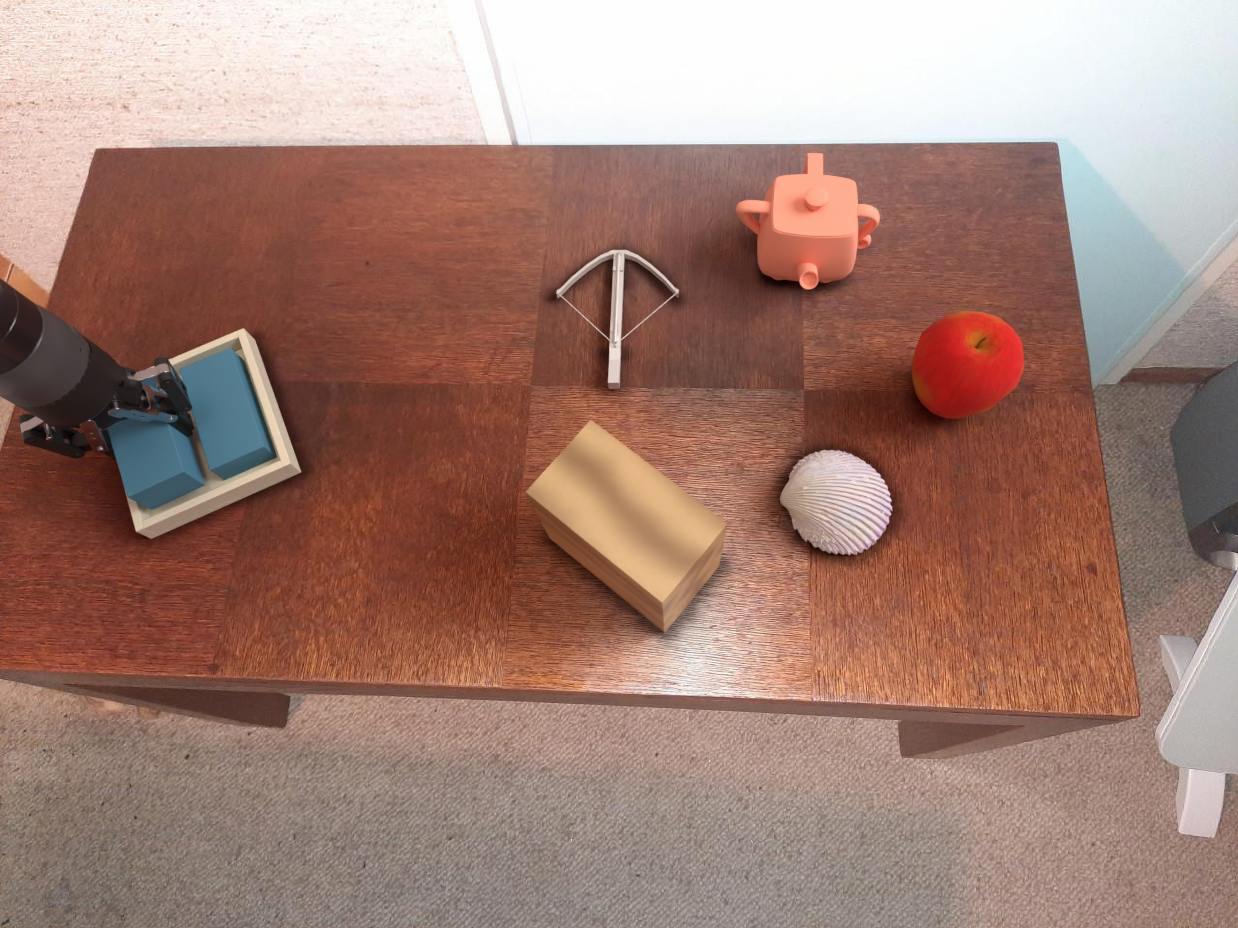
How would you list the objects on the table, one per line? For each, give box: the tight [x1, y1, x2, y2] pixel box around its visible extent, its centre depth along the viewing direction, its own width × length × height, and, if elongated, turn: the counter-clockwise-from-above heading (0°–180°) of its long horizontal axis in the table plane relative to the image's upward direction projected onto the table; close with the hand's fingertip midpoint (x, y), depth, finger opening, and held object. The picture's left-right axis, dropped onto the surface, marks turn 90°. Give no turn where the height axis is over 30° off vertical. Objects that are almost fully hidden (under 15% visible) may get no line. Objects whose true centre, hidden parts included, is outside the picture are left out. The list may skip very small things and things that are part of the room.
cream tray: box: [122, 327, 302, 540], centre depth 86 cm, size 16×17×3 cm
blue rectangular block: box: [106, 385, 205, 510], centre depth 83 cm, size 6×12×4 cm, turn 26°
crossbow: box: [556, 249, 680, 390], centre depth 88 cm, size 16×13×2 cm
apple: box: [911, 310, 1025, 420], centre depth 78 cm, size 9×9×12 cm
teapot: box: [735, 152, 881, 290], centre depth 85 cm, size 12×12×10 cm
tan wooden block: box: [525, 419, 728, 633], centre depth 73 cm, size 8×14×14 cm, turn 50°
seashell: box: [779, 449, 893, 556], centre depth 79 cm, size 10×6×10 cm
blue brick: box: [179, 348, 277, 480], centre depth 85 cm, size 6×12×3 cm, turn 25°
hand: (159, 440), depth 84 cm, fingers closed on blue rectangular block, 5 cm apart
